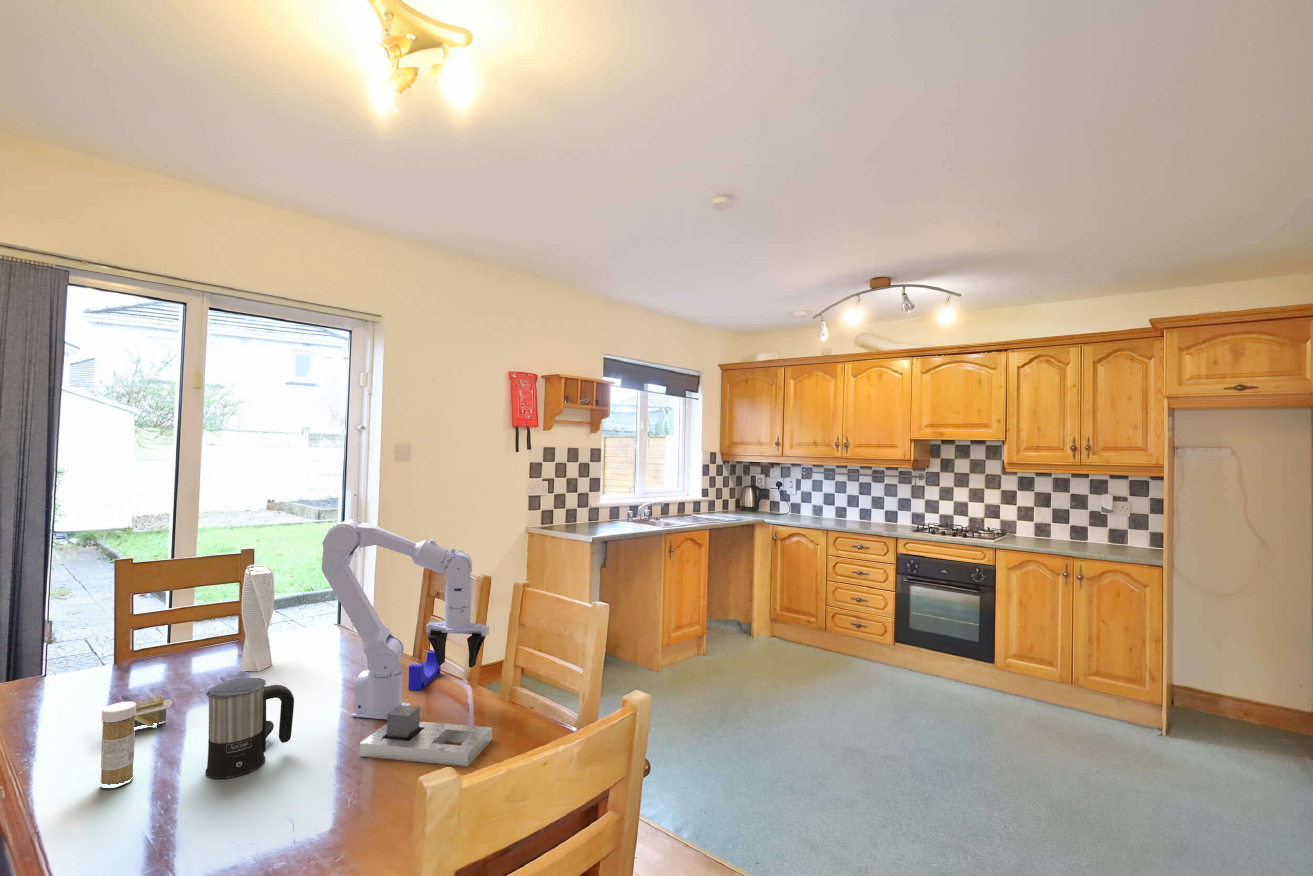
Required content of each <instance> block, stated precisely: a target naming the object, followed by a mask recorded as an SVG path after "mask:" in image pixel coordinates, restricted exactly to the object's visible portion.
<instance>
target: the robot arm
mask: <svg viewBox="0 0 1313 876" xmlns="http://www.w3.org/2000/svg"><path fill="white" fill-rule="evenodd" d="M321 544H322V549H323V550H322V560H321V572H322V574H323V576H324V577H325V579H326V581H327V582H328V584H329V586H330V588H331V589H332V591H333V592H334V594H335V596H336V598H337V600H338V601H339V603H340V604H341V606H342V608H343V610H344V612H345V613H346V615H347V617H348V618H349V621H350V622H351V623H352V624H353V627H354V628H355V630H356V632H357V635H358V636H359V637H360V639H361V642H362V649H363V652H364V654H365V656H366V667H367V669H365V670H362V672H360V674H359V675H358V676H357V677H356V681H355V685H354V698H353V699H354V701H353V702H354V704H353V705H354V708H353V713H352V714H351V717H353V718H367V719H376V720H377V719H378V720H387V714H388V713H390V712H391V711H392V710H394V709H395V708H397V707H398V706H399V705H403V706H411V703H407V702H406V703H405V702H403V681H404V680H403V679H404V678H403V676H404V667H403V665H402V664H401V663H400V659H401V658H402V656H403V654H404V651H405V650H404V649H405V648H404V644H403V642H402V640H401V639H400V638H398V637H397V636H395V635H394V634H393V633H392V632H391V630H390V629H389V628H388V627H387V626H385V625H384V624H383V623H382V620H381V619H380V617H379V615H378V614H377V611H376V610H375V608H374V607H373V605H372V603H371V601H370V600H369V598H368V596H367V595H366V592H365V591H364V589H363V588H362V586H361V584H360V583H359V581H358V579H357V577H356V576H355V574H354V572H353V570H352V569H351V567H350V564H351V562H352V559H353V556H354V554H355V551H356V550H357V549H358V547H359V549H360V548H366V547H373V546H378V547H382V548H384V549H388V550H390V551H393V552H397V553H400V554H403V555H406V556H409V557H410V558H411V560H412V561H413V564H415V565H418V566H420V567H422V568H425V569H428V570H431V571H434V572H437V573H439V574H443V573H444V574H445V576H446V585H445V594H444V596H445V597H444V599H445V602H444V621H430V622H428V623H426V626H425V633H428V634H429V635H428V636H427V640H428V642H429V643H430V645H431V647H432V648H433V649H432V650H433V651H434V652H435V655H436V659H437V664H438V665H441V666H442V665H443V664H444V663H445V662H446V646H447V645H446V644H447V638H448V634H461V635H470V636H469V637H467V638H466V643H467V646H468V668H473V667H474V666H476V664H477V659H478V656H479V652H480V650H481V647H482V645H483V643H484V641H485V639H486V637H487V636H488V635H489V634H490V625H488V624H487V625H486V624H480V623H474V622H472V621H471V619H472V618H471V617H472V615H471V614H472V613H471V611H472V584H471V582H472V577H471V574H472V572H473V568H472V567H473V560H472V557H471V556H470V555H469V554H467V553H466V552H464V550H457V549H456V548H454V547H451V549H450V548H448V547H445V546H442V545H440V544H437V540H435V539H432V538H431V539H430V541H429V540H428V539H427V540H426V539H424V540H421V541H420V542H416V541H414V540H411V539H408V538H406V537H404V536H401V535H399V534H397V533H394V532H393V531H390V530H386V529H384V528H382V527H380V526H378V525H374V524H372V523H369V522H361V521H360V520H358V519H353V518H350V519H349V518H348V519H345V520H343V521H341V522H340V523H337V524H334V525H333V526H331V527H330V528H329V529H328V532H327V533H326V535H325V536H324V539H323V540H322V543H321Z"/></svg>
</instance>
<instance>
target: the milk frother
mask: <svg viewBox="0 0 1313 876" xmlns="http://www.w3.org/2000/svg"><path fill="white" fill-rule="evenodd" d="M266 684H267V681H266V679H264V678H262V677H261V678H260V677H245V678H244V677H243V678H236V679H231V680H227V681H225V682H221V683H218V684H215V685H214V686H211V687H210V688H209V689H208V690H207V691H206V692H205V696H207V698H208V741H207V743H208V745H207V747H208V749H207V761H206V762H207V763H206V764H207V765H206V768H205V775H206V776H207V777H208V776H209V777H208V778H212V779H218V778H219V779H230V778H233V777H240V776H242V775H245V774H248V773H250V772H253V771H254V770H257V769H258V768H260V767H261V766H262V765H263V764H264V763H265V761H266V756H265V753H266V751H267V748H266V747H267V740H266V739H267V738H268V737H269V735H271V733H272V732H273V730H274V727H275V725H274V722H273V721H271V720H267V700H271V699H279V700H280V711H279V713H280V715H279V726H278V739H279V741H280V743H283V744H284V743H288V742H290V740H291V737H292V731H293V730H292V729H293V723H294V722H293V720H294V719H293V718H294V708H295V707H294V706H295V697H294V695H293V693H292V691H291V690H290V689H289V688H288V687H286V686H285V685H282V684H271V685H266Z"/></svg>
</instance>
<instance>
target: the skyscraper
mask: <svg viewBox="0 0 1313 876" xmlns="http://www.w3.org/2000/svg"><path fill="white" fill-rule="evenodd" d="M242 584H243V585H242V592H241V604H240V605H241V619H242V625H243V631H244V636H245V637H244V643H243V649H242V655H241V661H240V666H239V671H240V670H247V671H260V670H261V671H263V670H265V669H267V668H268V667H267V666H269V665H271V666H273V659H272V653H271V652H272V650H271V645H270V637H269V632H268V630H269V628H270V625H271V620H272V617H273V612H274V605H275V580H274V571H273V570H272V568H270V567H269V566H267V565H265V564H250V565H248V566H246V569H245V571H244V577H243V583H242ZM266 667H267V668H266ZM269 667H270V666H269ZM264 668H265V669H264ZM262 669H263V670H262ZM261 671H260V672H261Z"/></svg>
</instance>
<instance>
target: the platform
mask: <svg viewBox="0 0 1313 876" xmlns="http://www.w3.org/2000/svg"><path fill="white" fill-rule="evenodd" d="M133 702H134V703H136V714H135V715H136V716H135V721H134V725H135V727H137V726H141V725H147V726H153V725H154V724H153V723H157V725H159V722H162V721H166V720H167V709H168V708H170V707H171V706H172V705H173V700H172V699H171V698H169V699H164V696H163V695H158V696H152V697H148V698H147V700H146V698H144V699H140V700H136V701H135V700H134V701H133ZM140 702H141V704H140ZM159 726H160V725H159Z"/></svg>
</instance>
